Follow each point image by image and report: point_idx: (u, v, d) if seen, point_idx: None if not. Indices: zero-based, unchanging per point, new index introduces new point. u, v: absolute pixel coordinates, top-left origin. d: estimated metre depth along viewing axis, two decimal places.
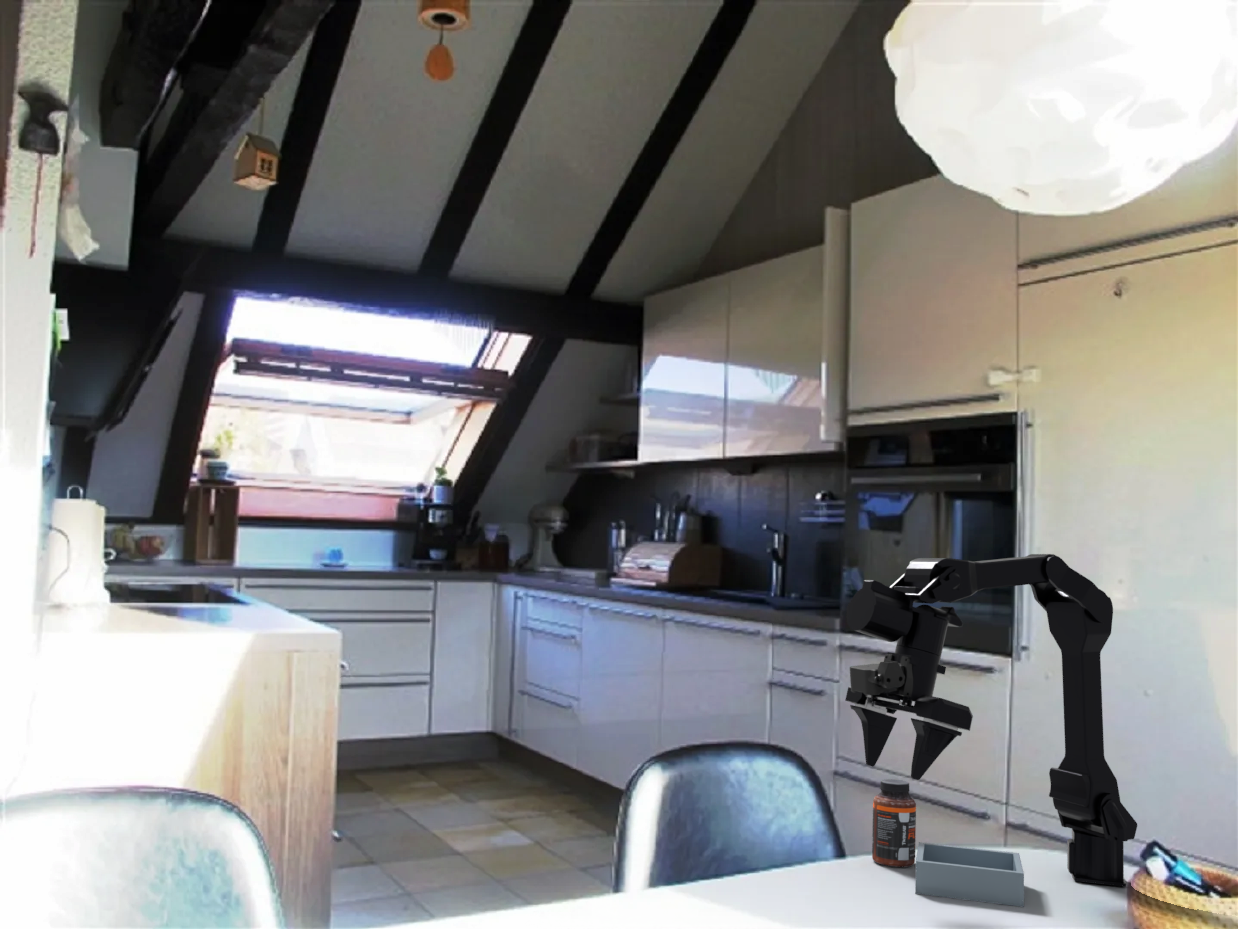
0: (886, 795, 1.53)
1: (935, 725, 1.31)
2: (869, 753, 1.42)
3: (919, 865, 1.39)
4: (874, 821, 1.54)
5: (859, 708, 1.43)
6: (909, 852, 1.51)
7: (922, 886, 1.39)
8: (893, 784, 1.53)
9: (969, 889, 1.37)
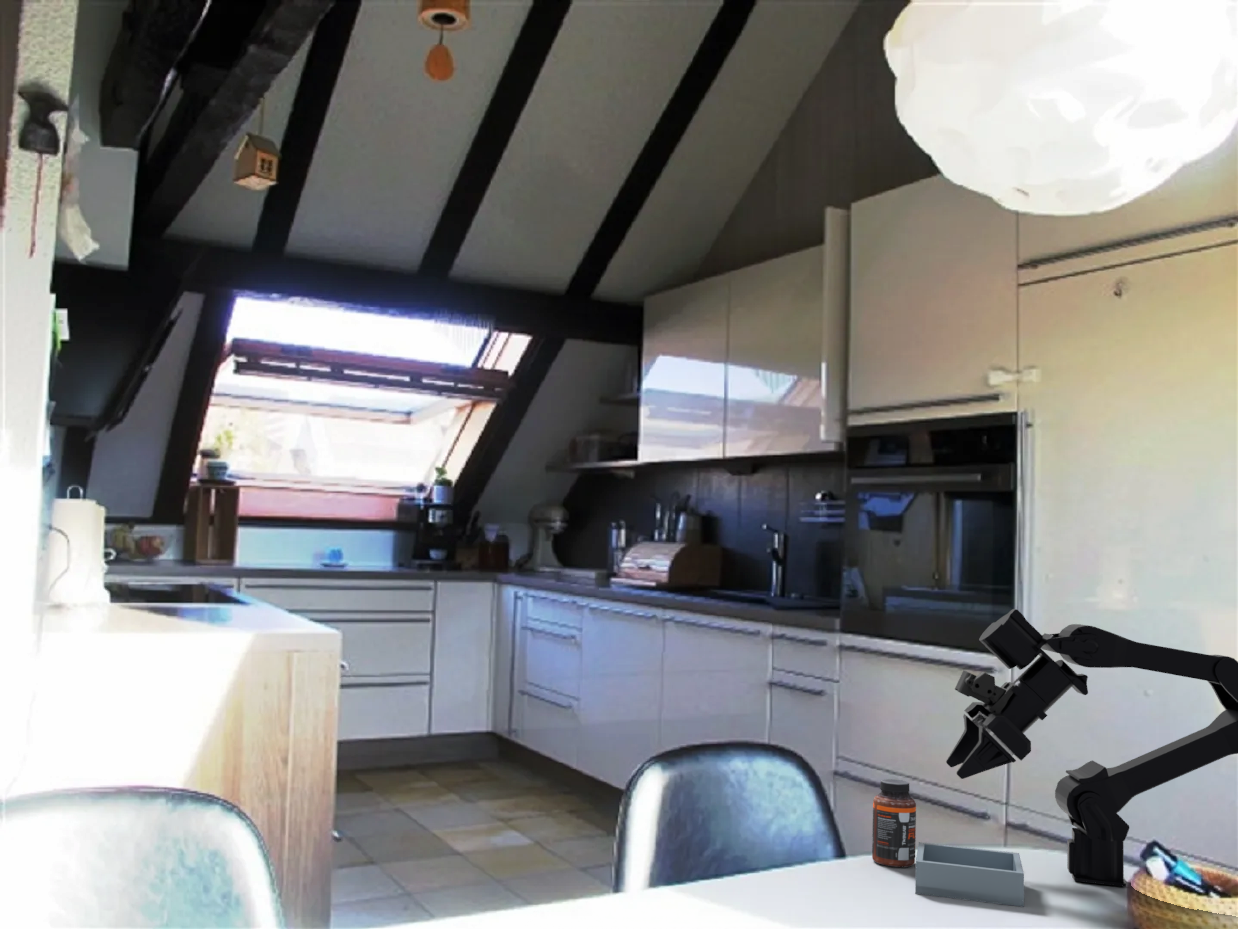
0: (886, 795, 1.53)
1: (991, 737, 1.46)
2: (953, 754, 1.58)
3: (919, 865, 1.39)
4: (874, 821, 1.54)
5: (965, 717, 1.59)
6: (909, 852, 1.51)
7: (922, 886, 1.39)
8: (893, 784, 1.53)
9: (969, 889, 1.37)
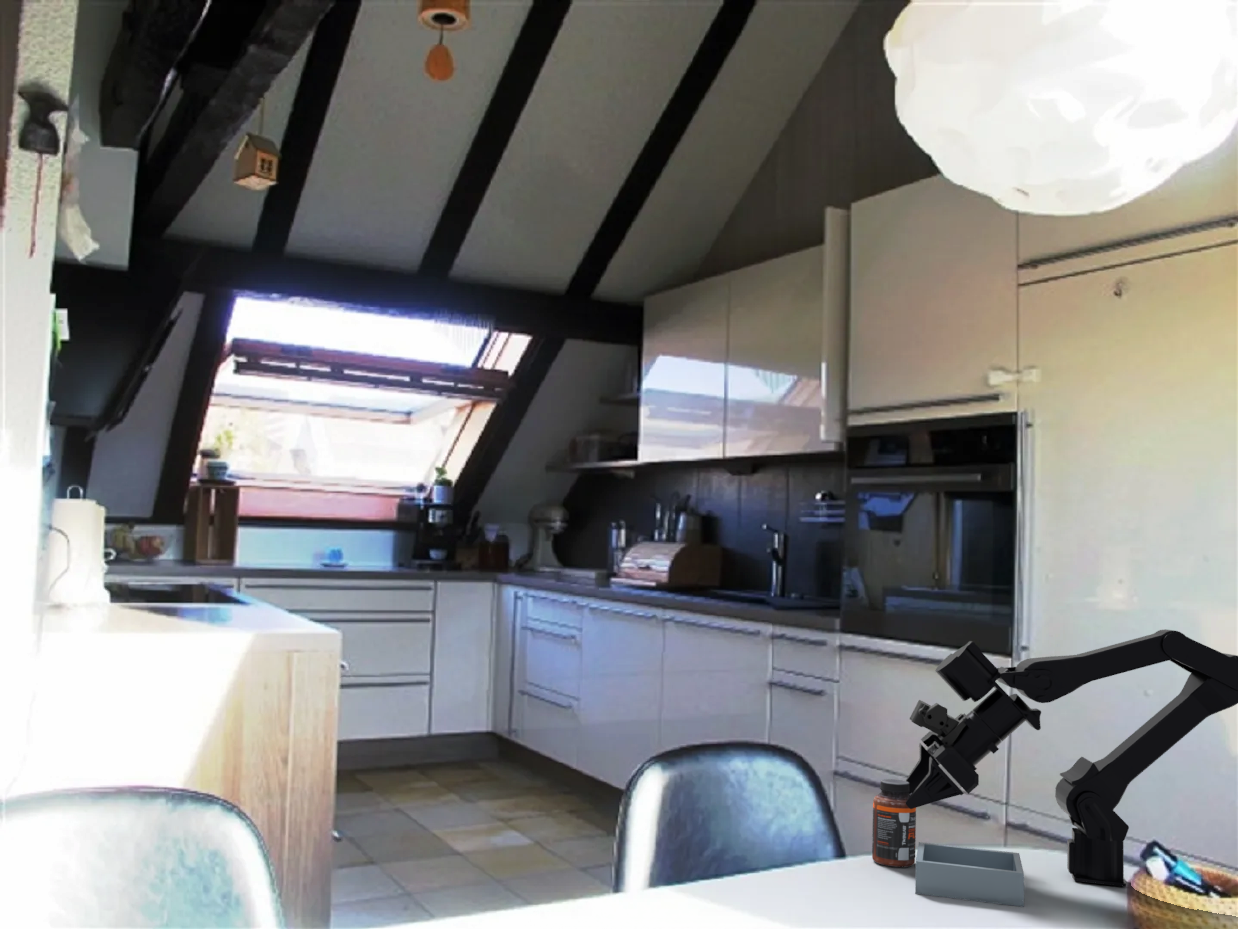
0: (886, 795, 1.53)
1: (939, 769, 1.46)
2: None
3: (919, 865, 1.39)
4: (874, 821, 1.54)
5: (920, 746, 1.60)
6: (909, 852, 1.51)
7: (922, 886, 1.39)
8: (893, 784, 1.53)
9: (969, 889, 1.37)
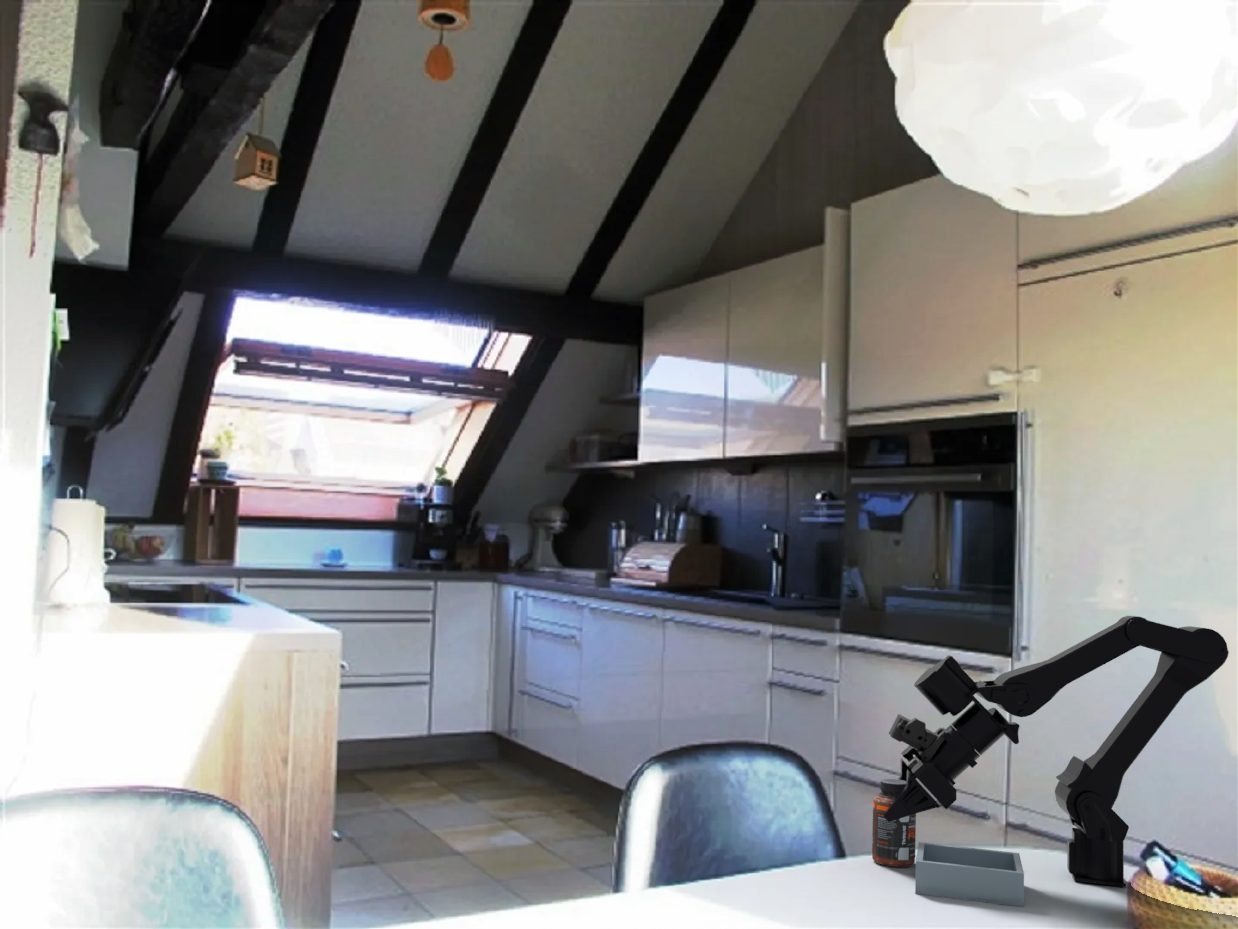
0: (886, 794, 1.53)
1: (916, 782, 1.48)
2: None
3: (919, 865, 1.39)
4: (874, 821, 1.54)
5: (901, 761, 1.59)
6: (909, 852, 1.51)
7: (922, 886, 1.39)
8: (893, 784, 1.53)
9: (969, 889, 1.37)
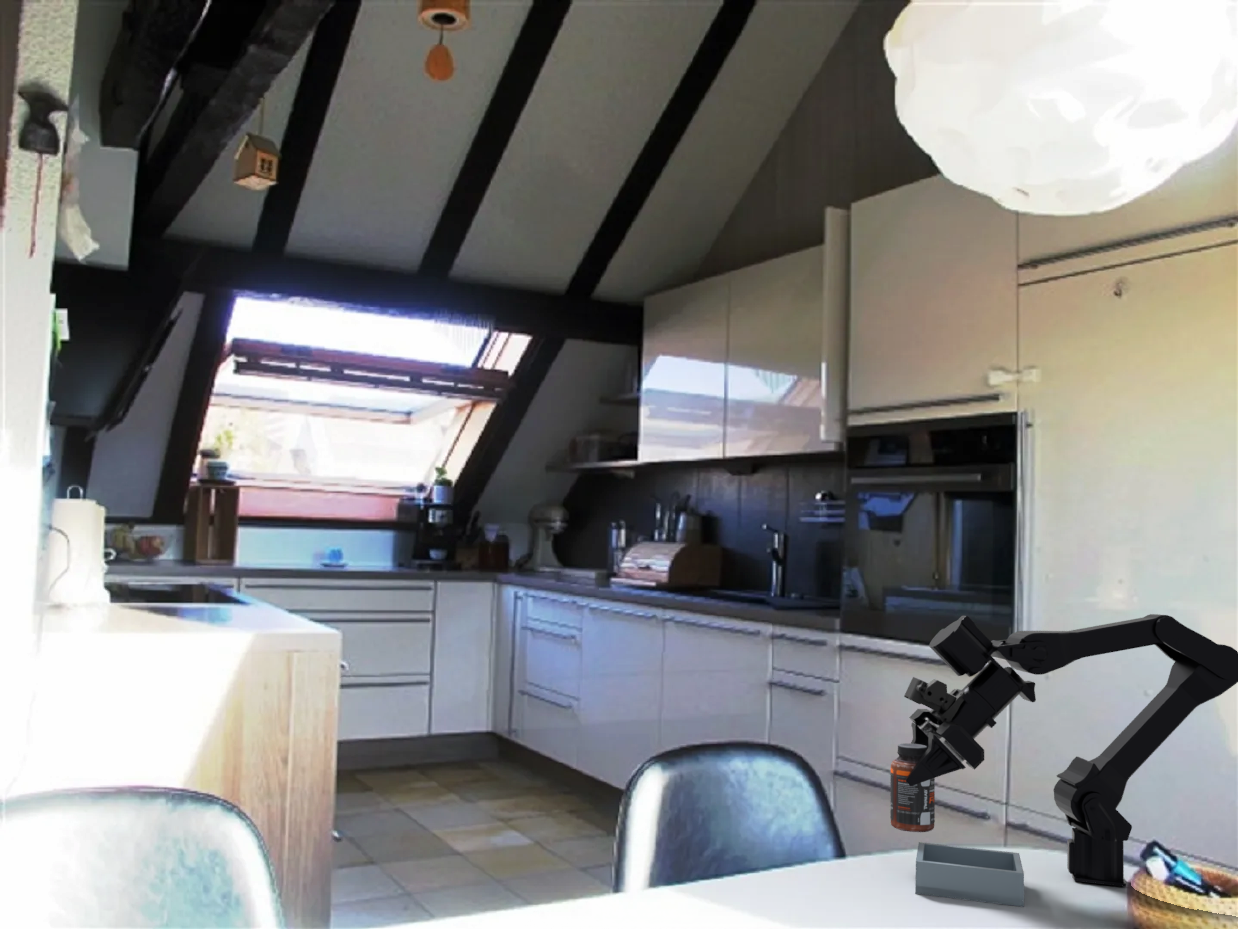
0: (905, 759, 1.50)
1: (942, 744, 1.45)
2: None
3: (919, 865, 1.39)
4: (894, 787, 1.50)
5: (914, 725, 1.56)
6: (931, 817, 1.49)
7: (922, 886, 1.39)
8: (913, 748, 1.50)
9: (969, 889, 1.37)
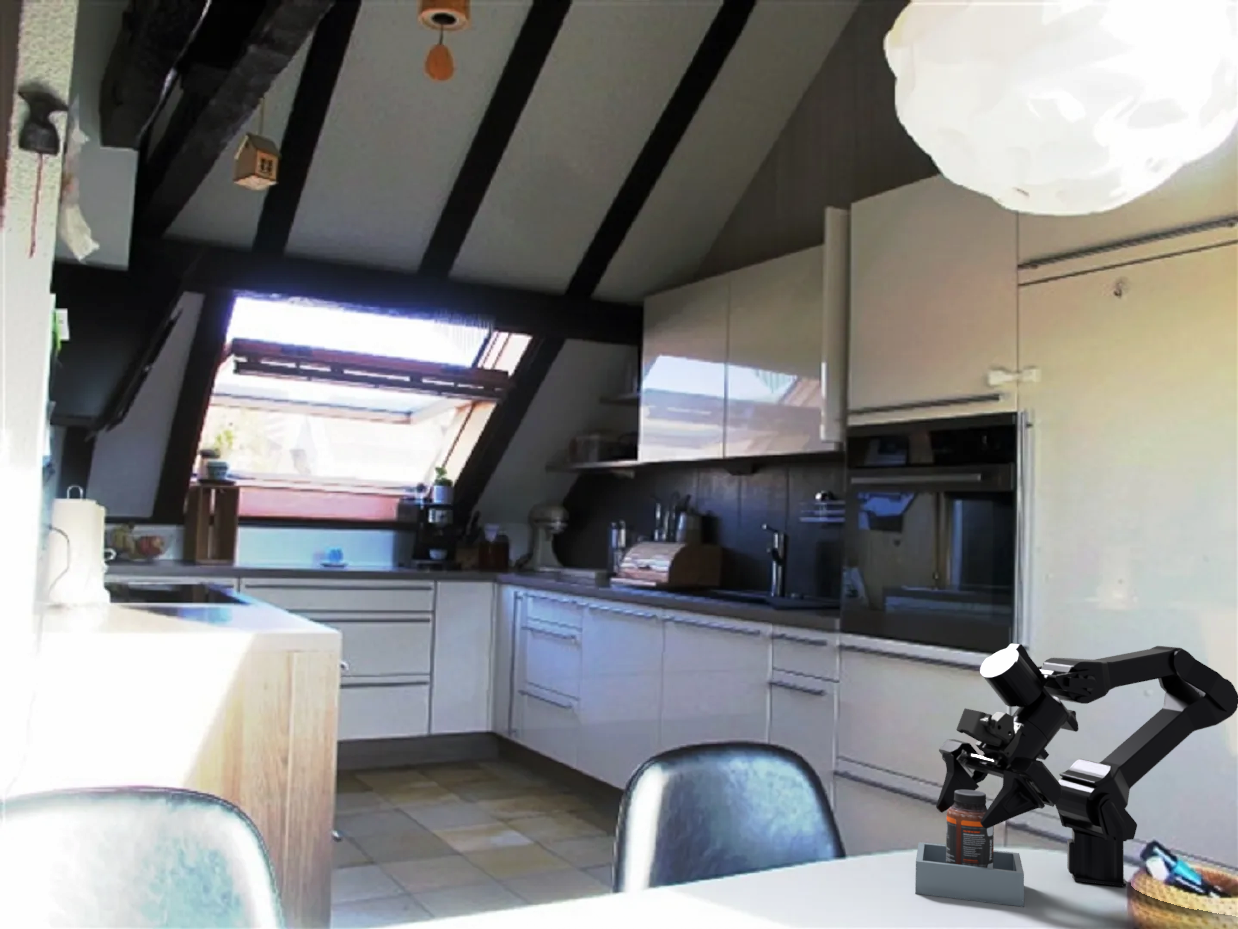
0: (969, 808, 1.41)
1: (1025, 783, 1.37)
2: (943, 799, 1.47)
3: (919, 865, 1.39)
4: (957, 838, 1.41)
5: (951, 757, 1.49)
6: (993, 867, 1.41)
7: (922, 886, 1.39)
8: (977, 796, 1.42)
9: (969, 889, 1.37)
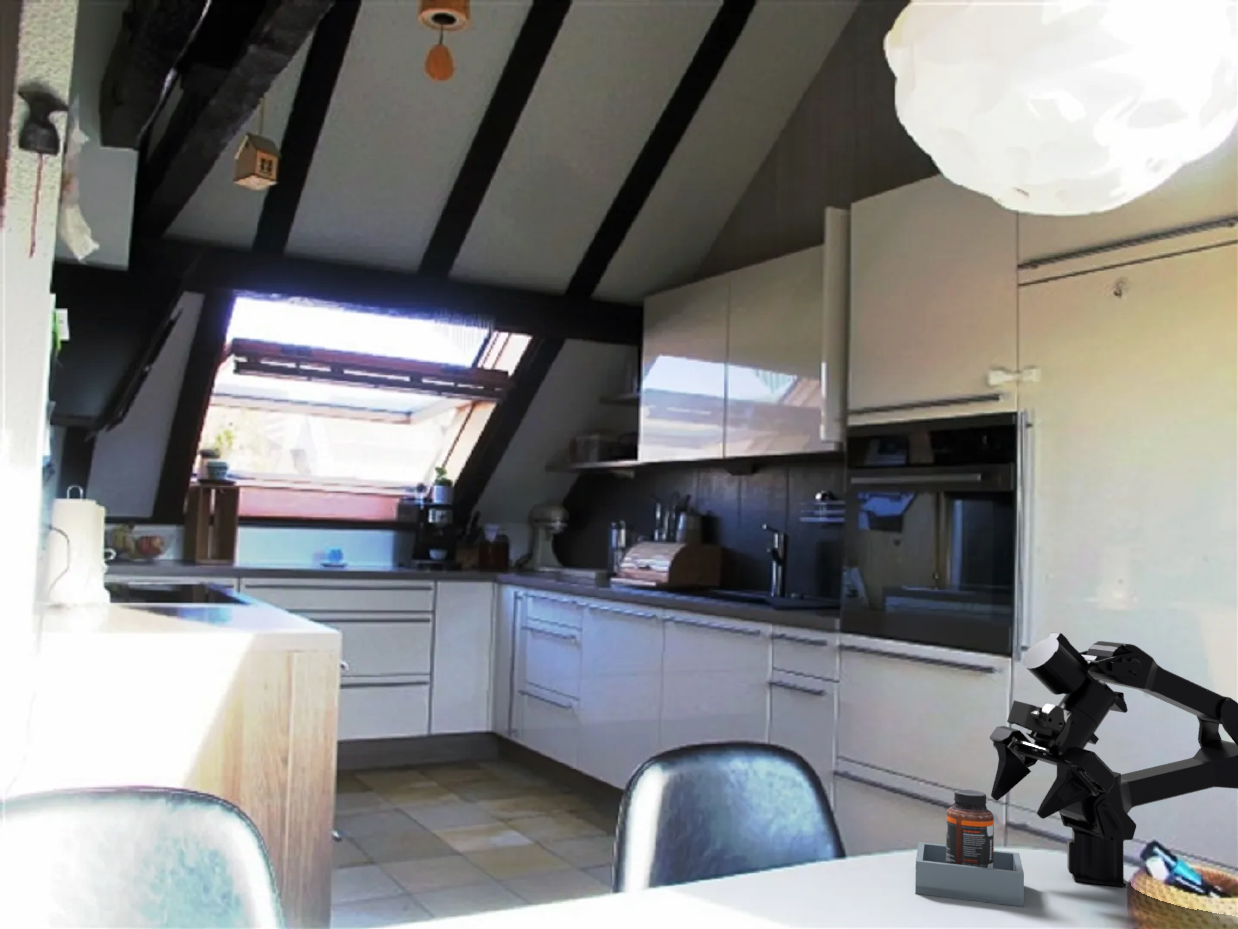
0: (969, 808, 1.41)
1: (1079, 774, 1.41)
2: (997, 787, 1.51)
3: (919, 865, 1.39)
4: (957, 838, 1.41)
5: (1003, 745, 1.53)
6: (993, 867, 1.41)
7: (922, 886, 1.39)
8: (977, 796, 1.42)
9: (969, 889, 1.37)
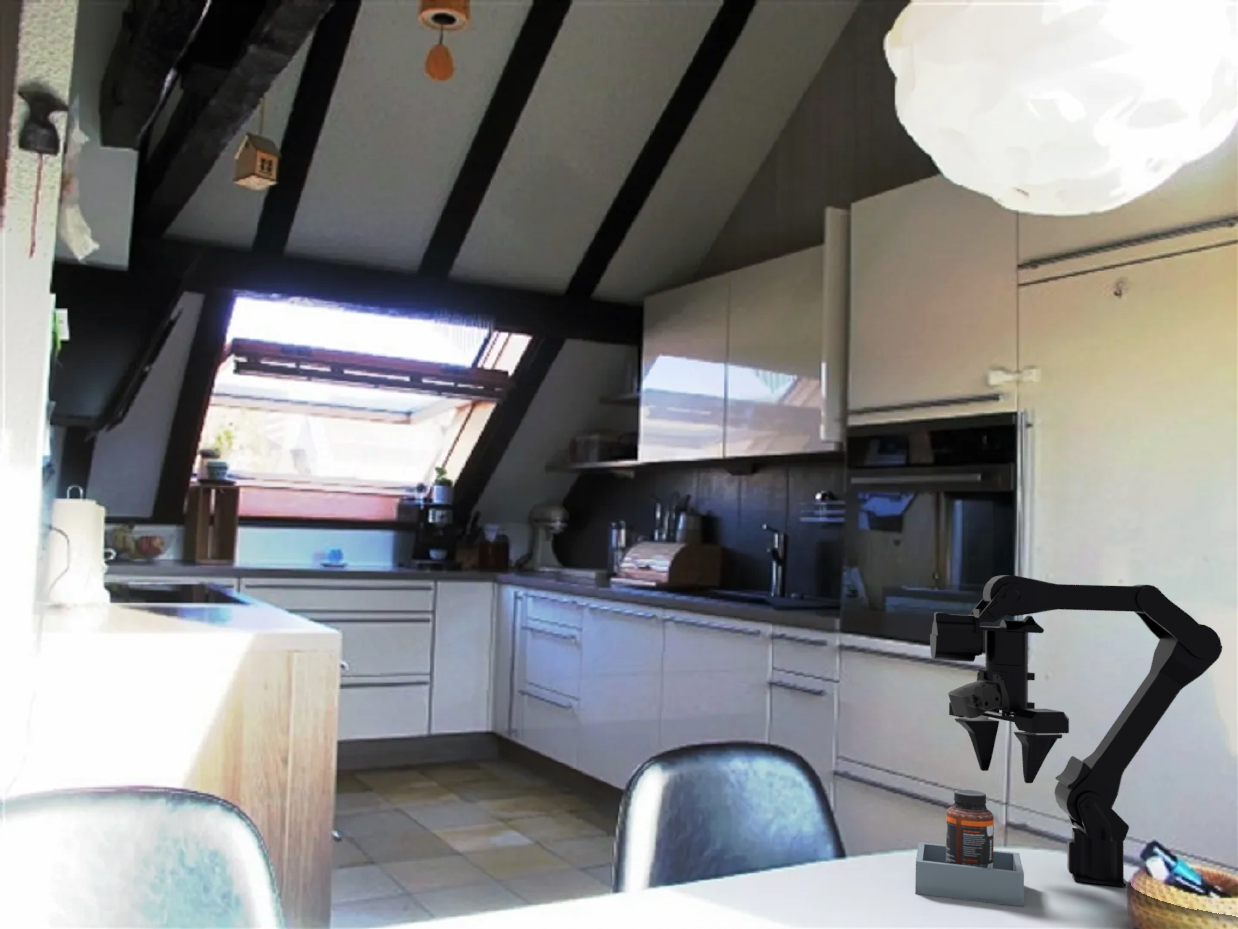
0: (969, 808, 1.41)
1: (1037, 736, 1.45)
2: (981, 760, 1.57)
3: (919, 865, 1.39)
4: (957, 838, 1.41)
5: (964, 722, 1.57)
6: (993, 867, 1.41)
7: (922, 886, 1.39)
8: (977, 796, 1.42)
9: (969, 889, 1.37)
